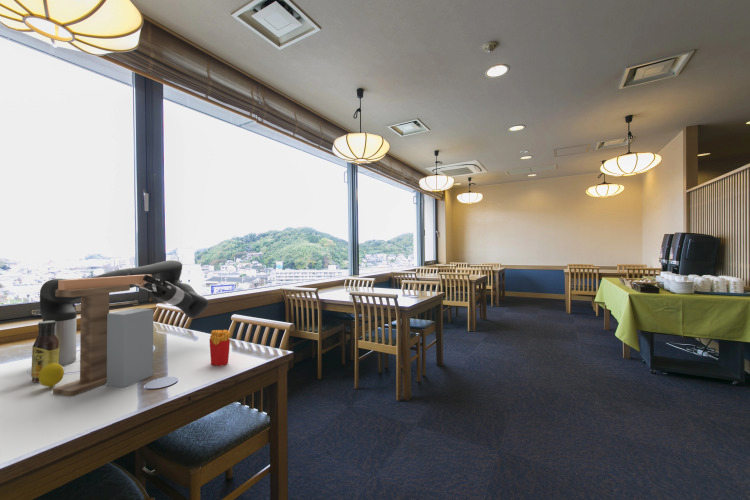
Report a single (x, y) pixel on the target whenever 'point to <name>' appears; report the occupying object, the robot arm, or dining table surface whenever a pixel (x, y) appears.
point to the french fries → (219, 347)
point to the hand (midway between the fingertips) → (135, 276)
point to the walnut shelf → (91, 337)
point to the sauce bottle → (44, 348)
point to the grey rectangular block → (129, 346)
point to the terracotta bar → (100, 282)
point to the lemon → (51, 374)
